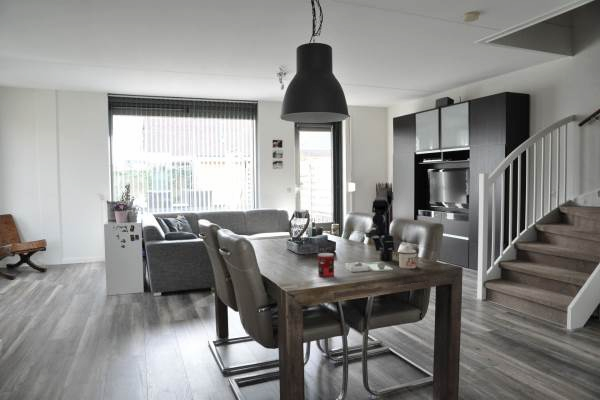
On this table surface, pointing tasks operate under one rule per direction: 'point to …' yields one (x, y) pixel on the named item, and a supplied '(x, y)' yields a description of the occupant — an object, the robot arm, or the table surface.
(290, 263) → the table surface
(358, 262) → the pebble
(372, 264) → the tray
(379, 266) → the pebble
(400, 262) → the teacup with lid
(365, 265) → the open box
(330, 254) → the canned food
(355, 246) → the table surface
